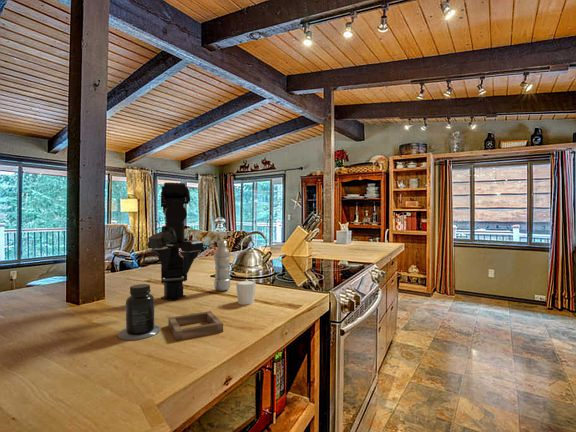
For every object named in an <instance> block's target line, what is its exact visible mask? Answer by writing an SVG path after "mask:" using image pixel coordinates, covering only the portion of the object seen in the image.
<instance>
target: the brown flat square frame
mask: <svg viewBox="0 0 576 432" xmlns="http://www.w3.org/2000/svg"><path fill="white" fill-rule="evenodd" d="M167 319H168V328H169V329H170V331H171V333H172V335H173V337H174V339H175V341H176V342H177V341H182V340H183V341H184V340H187V339H194V338H198V337H204V336H208V335H213V334H218V333H223V332H224V323H223V322H222V321H221V320H220V319H219V318H218V317H217V316H216V315H215V314H214V313H213V311H211V310H209V311H203V312H197V313H191V314H185V315H184V314H183V315H177V316H176V315H175V316H170V317H168V318H167ZM206 321H207V322H208V323H206V324H201V325H196V326H191V327H185V328H182V327H181V326H184V325H185V326H186V325H190V324H196V323H202V322H206Z"/></svg>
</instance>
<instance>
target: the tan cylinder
mask: <svg viewBox="0 0 576 432" xmlns="http://www.w3.org/2000/svg"><path fill="white" fill-rule="evenodd" d="M235 286H236V294H237V295H236V297H237V304H238V305H243V306H245V305H252V304H254V303H255V298H256V297H255V295H256V282H255V281H253V280H241V281H237V282H236V285H235Z"/></svg>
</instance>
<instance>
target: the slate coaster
mask: <svg viewBox="0 0 576 432" xmlns="http://www.w3.org/2000/svg"><path fill="white" fill-rule="evenodd" d="M160 330H161V328H160V326H159V325H157V324H154V329H153V330H152V331H151V332H149V333H147V334H143V335H129V334H127V332H126V328H124V329H122V330H120V331H119V332H118V334H117V336H118V337H117V338H119V339H120V340H122V341H140V340H145V339H149V338H150V337H154V336H155V335H157V334H159V333H160Z"/></svg>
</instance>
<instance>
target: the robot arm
mask: <svg viewBox="0 0 576 432" xmlns="http://www.w3.org/2000/svg"><path fill="white" fill-rule="evenodd" d="M190 192H191V191H190V189H189V187H188V186H186V183H185V182H164V183H163V185H162V186H161V192H160V208H162V213H163V215H164V221H165V222H164V225H162V226H161V231H160V232H156V233H154V234H153V235H150V236H149V237H147V238H148V242H147V249H150V251H151V252H153V253H154V254H156V256H157V258H158V260H159V263H160V266H161V267H160V270H161V272H160V274H161V275H160V277H161V279H160V280H161V283H160V284H163V291H164V292H163V296H161V297H160V300H161V299H162V300H167V301H176V300H179V299H180V300H181V299H182V298H186V297H187V295H186V294H184V284H183V283H184V282H186V281H188V273H189V271H190V269H191V267H192V264H193V262H194V261H195V259H196V257H197V255H198V253H201V251H203V250H204V243H203V241H202V240H195V239H194V240H192V239H191V240H188V238H186V237H185V235H186V233H185V230H186V229H188V225H186V223H185V220H186V218H187V214H188V212H187V210H186V208H185V207H184V206H185V205H189V203H191V195H190ZM180 250H181V252H180Z"/></svg>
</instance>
